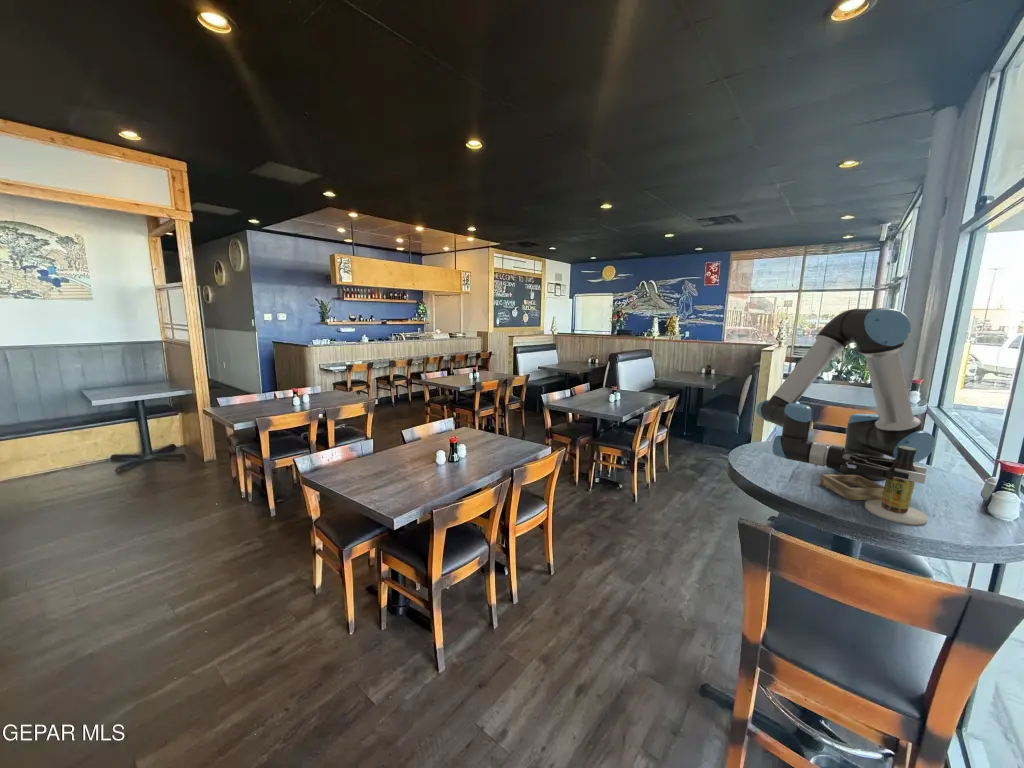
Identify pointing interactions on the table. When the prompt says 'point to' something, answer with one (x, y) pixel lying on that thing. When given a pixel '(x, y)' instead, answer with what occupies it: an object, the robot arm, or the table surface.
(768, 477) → the table surface
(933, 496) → the table surface
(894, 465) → the sauce bottle
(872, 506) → the saucer
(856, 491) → the tray
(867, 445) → the robot arm
